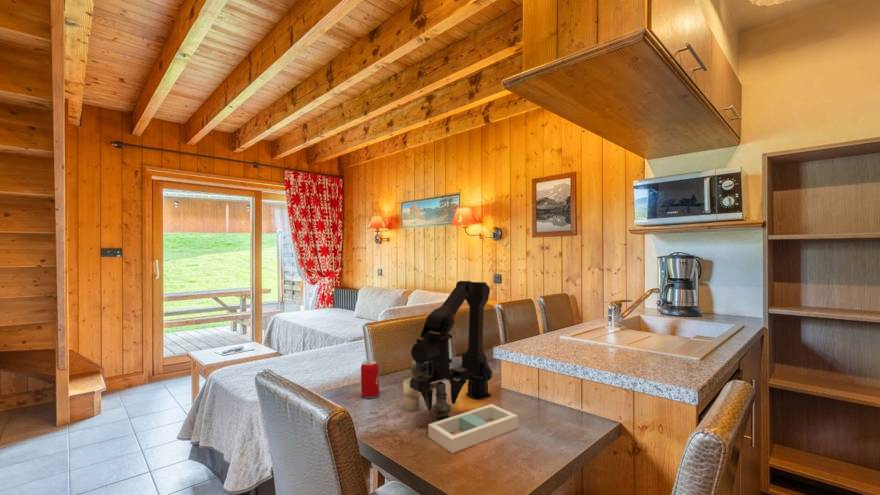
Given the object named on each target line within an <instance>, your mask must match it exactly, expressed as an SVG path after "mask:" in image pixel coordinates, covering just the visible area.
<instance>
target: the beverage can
mask: <svg viewBox="0 0 880 495" xmlns="http://www.w3.org/2000/svg"><path fill="white" fill-rule="evenodd" d="M379 370H380V369H379V364H378V362H377V361H376V360H372V359H371V360H365V361H363V362H362V363H361V366H360V384H361V385H360V386H361V387H360V388H361V396H362V397H363V398H365V399H373V398H376V397H378V396H379V395H380V378H379V376H380V374H379Z"/></svg>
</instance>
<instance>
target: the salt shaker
mask: <svg viewBox="0 0 880 495" xmlns="http://www.w3.org/2000/svg"><path fill="white" fill-rule="evenodd" d="M435 387H436V388H435V389H436V390H435V391H436V392H435V394H434V396H436V397H435V398H436V399H435V400H436V402H435V404H434V405H433V404H432V408H431V410H432V412H433V414H434V415H435V416H433V419H432V421H434V422H437V421H440V420H443V419H447V418H450V417H451V416H450V413H451V410H452V406H451V405H450V404H449V403H448V402H447V395H448V394H447V392H446V390H447V389H446V383H445V382H444V381H442V382H438V383H435Z"/></svg>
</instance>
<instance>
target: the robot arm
mask: <svg viewBox="0 0 880 495" xmlns="http://www.w3.org/2000/svg"><path fill="white" fill-rule="evenodd" d="M490 291H491V287H490V286H489V285H488V283H487V282H485V281H484V282H483V281H472V280H471V281H470V280H459V281H457V282H456V284H455V287H454V289H453V290H452V291H451V293H450V294H449V295H448V297H447V299H445V301H444V302H443V304H442V305H441V306H440V307H437V308H435V309H434V310H432V311H431V312H430V313H429V314H428V316H426V319H425V322H424V324H423V327H422V330H421V333H420V335H419V338H416V343H415V344H413V346H412V347H411V348H412V349H411V350H410V353H411V358H412V360H414V361H415V362H417V363H416V370H417V373H420V372H422V375H425V374H426V373H427V375H428V376H431V377H430V378H426V377H423V376H418V377H414V376H413V377H410V378H411V380H410V388H412V389H414V390H416V391H418V392H419V394H421V396H422V398H423V400H424V403H425V406H426V408H427V411H428V412H431V411H432V406H433V393H434V392H433V391H434V390H433V389H431V388H432V387H431V384H433V385H434V384H437V383H438V382H446V381H449V385H450V400H451V404H453V405H455V404H456V401H457V399H458V397H459V395H460V392H461V391H462V389H463V387H464V385H465V384H467V392H466V393H465V395H466V396H468V397H470V398H472V399H474V400H477V401H478V400H482V399H485V398H488V397H491V396H492V394H491V393H489V382H488V381H491V379H492V377H493V370H492V369H491V368H490V365H489V366H488V365H487V362H488V360H487V356H486V354H485V352H484V350H483V344H484V343H483V342H484V341H483V340H484V339H483V337H484V335H483V334H484V311H485V310H484V308H485V306H486V304H487V303H488V301H489V300H490V299H489V298H490V293H491V292H490ZM465 301H466V303H467V305H468V307H469V312H468V313H469V314H468V315H469V318H468V339H467V341H468V345H467V349H466V351H465V353H462V356H461V364H460V365H461V366H462V367H456V368H454V367H452V368H450V367H451V365H450V364H452V363H453V359H452V358H451V357H450V339H452V338H453V335H452V334H451V333H450V332H451V330H452V328H453V327H454V324H455V316H456V314H457V312H458V311H459V309H460V308H461V307H462V305H463V303H464V302H465ZM427 361H428V363H426V364H424V362H427ZM467 381H468V382H467Z"/></svg>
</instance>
